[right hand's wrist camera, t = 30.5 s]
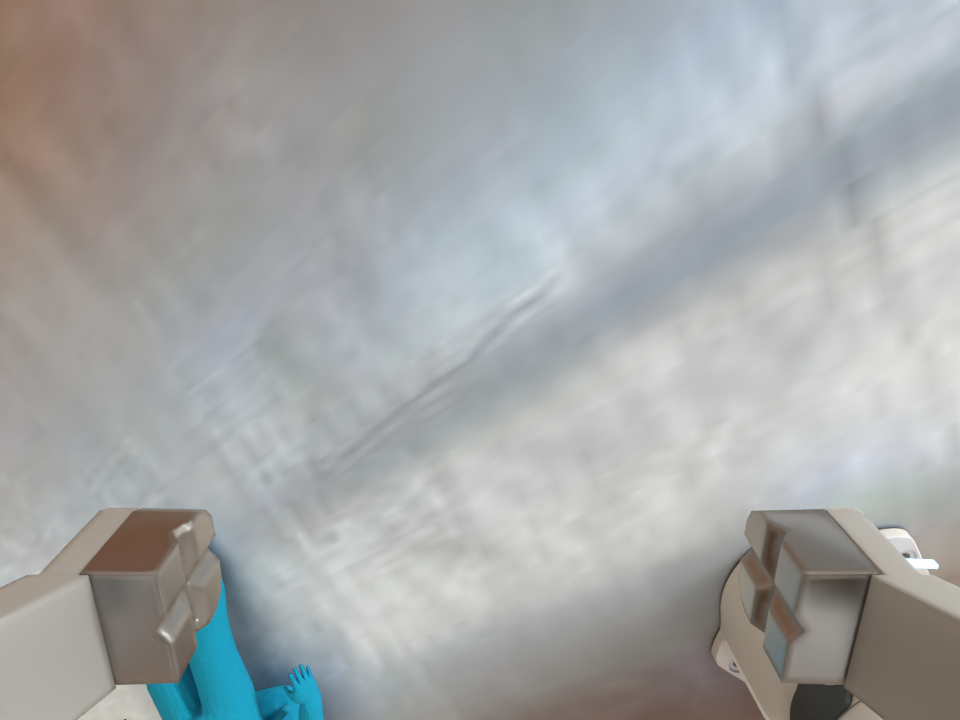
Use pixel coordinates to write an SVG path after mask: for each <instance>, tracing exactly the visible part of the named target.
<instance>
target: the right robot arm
mask: <svg viewBox="0 0 960 720" xmlns="http://www.w3.org/2000/svg"><path fill="white" fill-rule="evenodd" d="M214 536H215V530H214V525H213V520H212V516H211V515H210V514H209V513H208V512H207V511H206V510H194V509H145V508H142V509H138V508H109V509H104V510H100V511H99V512H98V513H97V514H96V515H95V516H94V517H93V518H92V519H91V520H90V521H89V522H88V524H87V525H86V526H85V527H84V528H83V529H82V530H81V531H80V532H79V533H78V534H77V535H76V536H75V537H74V538H73V539H72V540H71V541H70V542H69V543H68V545H67V546H66V547H65V548H64V549H63V550H62V551H61V552H60V553H59V554H58V555H57V556H56V557H55V558H54V559H53V560H52V561H51V562H50V563H49V564H48V566H47V567H46V568H45V569H44V570H43V571H42V572H41V573H40V574H39V575H26V576H24V577H22V578H20V579H18V580H16V581H14V582H11V583H9V584H7V585H5V586H3V587H1V588H0V720H77V719H78V718H80V717H81V716H82V715H83V714H85V713H86V712H87V711H88V710H89V709H91V708H92V707H93V706H94V705H96V704H97V703H98V702H99V701H101V700H102V699H103V698H104V697H105V696H107V695H108V694H109V693H110V692H112V691H113V690H114V689H115V688H116V686H115V685H129V684H163V683H179V681H180V679H181V677H182V675H183V673H184V671H185V669H186V667H187V666H188V664H189V662H190V660H191V658H192V656H193V654H194V652H195V650H196V649H197V647H198V646H197V640H196V635H195V633H197V632H198V631H199V630H201V629H202V628H204V627H205V626H207V625H208V624H210V622H211V620H212V618H213V616H214V614H215V612H216V610H217V606H218V602H219V597H220V593H221V580H222V573H221V566H220V559H219V558H218V557H217V556H216V555H215V554H214V553H213V552H212V551H211V550H210V549H209V548H208V546H209V544H210V543H211V541H212V539H213V538H214ZM745 536H746V538H747V539H748V541H749V543H750V544H751V546H752V548H751V549H750V550H749V551H748V552H747V553H746V554H745V555H744V556H743V557H742V558H741V559H740V562H739V564H738V565H737V566H736V567H735V569H734V570H733V571H732V573H731V575H730V576H729V578H728V580H727V582H726V584H725V587H724V590H723V593H722V597H721V604H720V613H721V625H720V630H719V632H718V633H717V636H716V638H715V640H714V642H713V645H712V648H711V655H712V657H713V658H714V660H715V662H716V663H717V665H718V666H720V667H721V668H722V669H724V670H726V671H727V672H729V673H730V674H732V675H734V676H735V677H737V678H738V679H740V680H742V681H743V682H745V683H746V685H747V687H748V689H749V690H750V692H751V694H752V696H753V698H754V700H755V702H756V703H757V705H758V707H759V709H760V711H761V713H762V714H763V716H764V718H765V719H766V720H960V588H959V587H957V586H955V585H953V584H951V583H949V582H946V581H944V580H942V579H940V578H938V577H936V576H934V575H930V574H929V572H928V570H927V568H933V569H937V568H938V566H939V565H938V564H937V563H936V562H935V561H934V560H927V559H922V557H921V555H920V552H919V550H918V548H917V546H916V544H915V542H914V540H913V539H912V538H911V536H910V535H909V534H908V533H907V532H906V531H905V530H903V529H898V528H891V529H881V530H878V529H877V528H876V527H875V526H874V524H873V523H872V522H871V521H870V520H869V519H868V518H867V517H866V516H865V515H864V514H863V513H862V512H861V511H859V510H856V509H854V508H831V509H811V510H766V511H751V513H750V515H749V517H748V519H747V523H746V529H745ZM903 553H904V554H903ZM902 554H903V555H902Z"/></svg>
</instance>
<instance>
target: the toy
mask: <svg viewBox="0 0 960 720" xmlns="http://www.w3.org/2000/svg"><path fill="white" fill-rule="evenodd" d="M195 635H196V640H197V646H198V647H197V649H196V650H195V652H194V654H193V656H192V658H191V660H190V662H189V664H188V666H187V667H186V669H185V671H184V673H183V675H182V677H181V679H180V681H179V683H163V684H146V685H147V689H148V691H149V693H150V695H151V697H152V699H153V702H154V704H155V706H156V708H157V710H158V712H159V714H160V716H161V718H162V719H163V720H324V715H323V706H322V698H321V692H320V691H319V688H318V686H317V683H316V681H315V679H314V677H313V675H312V673H311V670H310V668H309V666H308V665H307V666H306V670H307V673H306V671H305V669H304V666H303V665H302V664H300V665H299V668H300V671H301V675H302V676H301V675H300V673H299V672H298V670H297V669H296V668H293V671H294V674H295V676H296V679H297V680H296V679H295V677H294V676H293V675H292V674H289V678H290V680H291V682H292V685H293V687H292V686H289V685H281V686H274V687H270V688H266V689H262V690H258V691H255V689H254V686H253V683H252V681H251V678H250V676H249V674H248V672H247V670H246V667H245V665H244V663H243V661H242V659H241V656H240V654H239V652H238V650H237V648H236V645H235V641H234V638H233V635H232V632H231V629H230V625H229V619H228V614H227V607H226V593H225V586H224V582H223V580H221V593H220V597H219V602H218V606H217V610H216V612H215V614H214V616H213V618H212V620H211V622H210V624H208V625H207V626H205V627H204V628H202V629H201V630H199V631H198V632H197V633H195ZM124 720H126V719H124Z"/></svg>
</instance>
